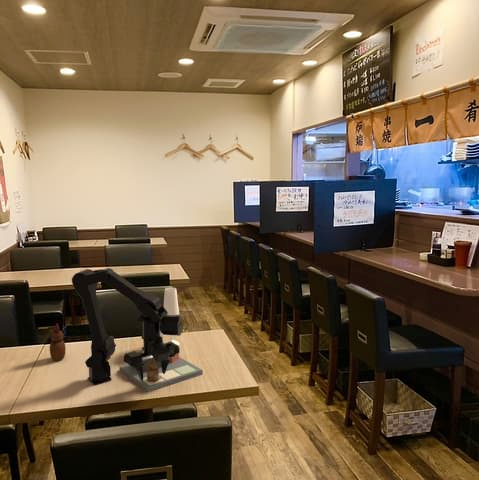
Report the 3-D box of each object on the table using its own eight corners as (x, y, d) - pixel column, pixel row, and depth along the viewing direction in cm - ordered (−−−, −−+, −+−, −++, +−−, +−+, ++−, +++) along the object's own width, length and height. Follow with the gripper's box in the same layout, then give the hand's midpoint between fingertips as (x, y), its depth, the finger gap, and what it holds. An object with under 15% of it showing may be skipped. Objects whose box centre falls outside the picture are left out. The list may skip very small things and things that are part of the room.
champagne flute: (164, 347, 198) (163, 291, 195) (162, 341, 204) (161, 287, 201) (180, 346, 200) (179, 290, 196) (178, 340, 206) (177, 286, 203)
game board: (148, 391, 159) (147, 374, 158) (119, 370, 176) (118, 354, 175) (202, 373, 172) (202, 358, 172) (171, 355, 189) (170, 341, 188)
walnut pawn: (150, 383, 161) (149, 363, 160) (145, 379, 164) (144, 360, 164) (161, 379, 164) (160, 361, 163) (155, 376, 167) (154, 357, 166)
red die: (172, 362, 179) (172, 352, 178) (164, 360, 181) (163, 350, 180) (178, 359, 182) (178, 349, 181) (170, 357, 184) (170, 347, 183)
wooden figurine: (66, 361, 184) (64, 323, 182) (50, 363, 182) (48, 325, 180) (65, 354, 190) (63, 318, 188) (50, 357, 188) (48, 320, 186)
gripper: (137, 346, 150) (139, 393, 152) (187, 333, 161) (188, 377, 164) (122, 337, 158) (123, 381, 160) (170, 325, 170) (171, 367, 172)
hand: (152, 376), depth 164 cm, fingers open, 8 cm apart
